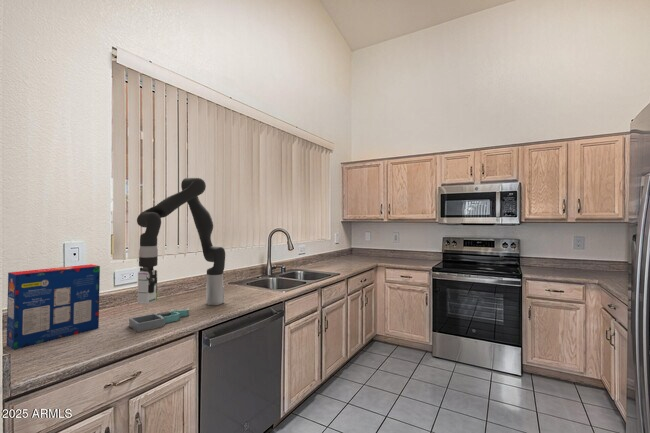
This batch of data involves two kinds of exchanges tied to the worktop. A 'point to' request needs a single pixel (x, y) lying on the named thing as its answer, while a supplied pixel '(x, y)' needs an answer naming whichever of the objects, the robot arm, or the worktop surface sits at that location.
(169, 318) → the clip
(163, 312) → the tall charcoal prism
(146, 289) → the syrup box
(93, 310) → the blue toy box
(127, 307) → the worktop surface
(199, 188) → the robot arm
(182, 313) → the clip
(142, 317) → the holder
